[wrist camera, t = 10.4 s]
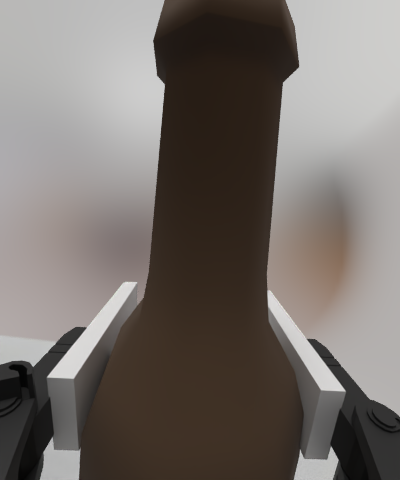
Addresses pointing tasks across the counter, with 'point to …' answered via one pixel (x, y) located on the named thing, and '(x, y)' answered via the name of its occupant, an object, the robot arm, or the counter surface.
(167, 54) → the beer bottle
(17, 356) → the counter surface
